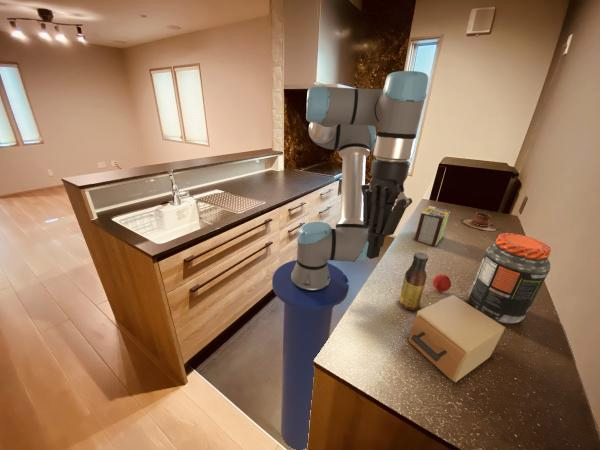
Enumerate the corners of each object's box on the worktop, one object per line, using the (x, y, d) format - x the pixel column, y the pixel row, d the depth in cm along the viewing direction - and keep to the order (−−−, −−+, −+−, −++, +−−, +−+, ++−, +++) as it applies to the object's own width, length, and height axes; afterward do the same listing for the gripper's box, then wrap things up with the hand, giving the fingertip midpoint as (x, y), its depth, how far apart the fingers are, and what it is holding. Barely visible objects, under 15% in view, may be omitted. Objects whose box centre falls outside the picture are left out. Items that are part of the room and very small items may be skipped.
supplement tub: (513, 301, 88) (546, 237, 78) (530, 333, 75) (572, 260, 65) (463, 288, 94) (487, 226, 84) (470, 315, 81) (500, 246, 70)
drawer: (439, 388, 57) (451, 362, 54) (397, 346, 67) (404, 322, 64) (484, 356, 66) (496, 331, 62) (440, 323, 76) (448, 300, 72)
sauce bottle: (407, 296, 88) (421, 248, 80) (422, 308, 83) (438, 257, 75) (393, 301, 85) (406, 251, 77) (408, 313, 80) (423, 262, 72)
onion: (430, 284, 95) (436, 267, 92) (447, 289, 93) (453, 271, 90) (430, 293, 90) (436, 275, 87) (448, 298, 88) (455, 280, 85)
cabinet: (455, 382, 60) (469, 351, 55) (408, 339, 71) (417, 311, 66) (490, 356, 67) (505, 327, 62) (442, 321, 78) (452, 294, 73)
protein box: (442, 237, 135) (450, 210, 129) (435, 246, 124) (443, 218, 118) (422, 231, 141) (429, 205, 135) (413, 239, 130) (420, 212, 124)
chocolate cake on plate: (471, 217, 165) (475, 207, 162) (502, 227, 152) (506, 217, 149) (457, 222, 156) (461, 211, 153) (488, 233, 143) (493, 222, 140)
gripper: (430, 163, 48) (404, 266, 57) (381, 153, 58) (365, 242, 68) (404, 165, 44) (380, 274, 54) (356, 154, 55) (344, 247, 64)
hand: (372, 256), depth 61 cm, fingers closed
